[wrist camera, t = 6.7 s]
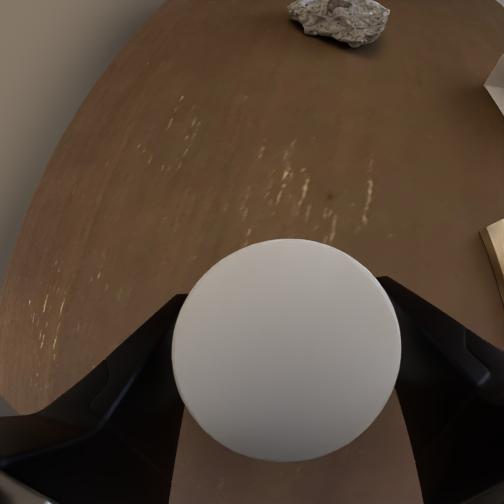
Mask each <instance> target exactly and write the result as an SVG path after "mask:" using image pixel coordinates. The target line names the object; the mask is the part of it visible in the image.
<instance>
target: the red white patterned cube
mask: <svg viewBox="0 0 504 504" xmlns="http://www.w3.org/2000/svg"><path fill="white" fill-rule="evenodd" d="M484 86H485V88H486V89H487V91H488V92H489V94H490V95H491V97H492V98H493V100H494V101H495V103H496V104H497V106H498V107H499V109H500V111H501V112H502V114H503V115H504V52H503V54H502V56H501V57H500V59H499V61H498V62H497V64H496V66H495V67H494V69H493V71H492V72H491V74H490V75H489V77H488V79H487V80H486V82H485V83H484Z"/></svg>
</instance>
